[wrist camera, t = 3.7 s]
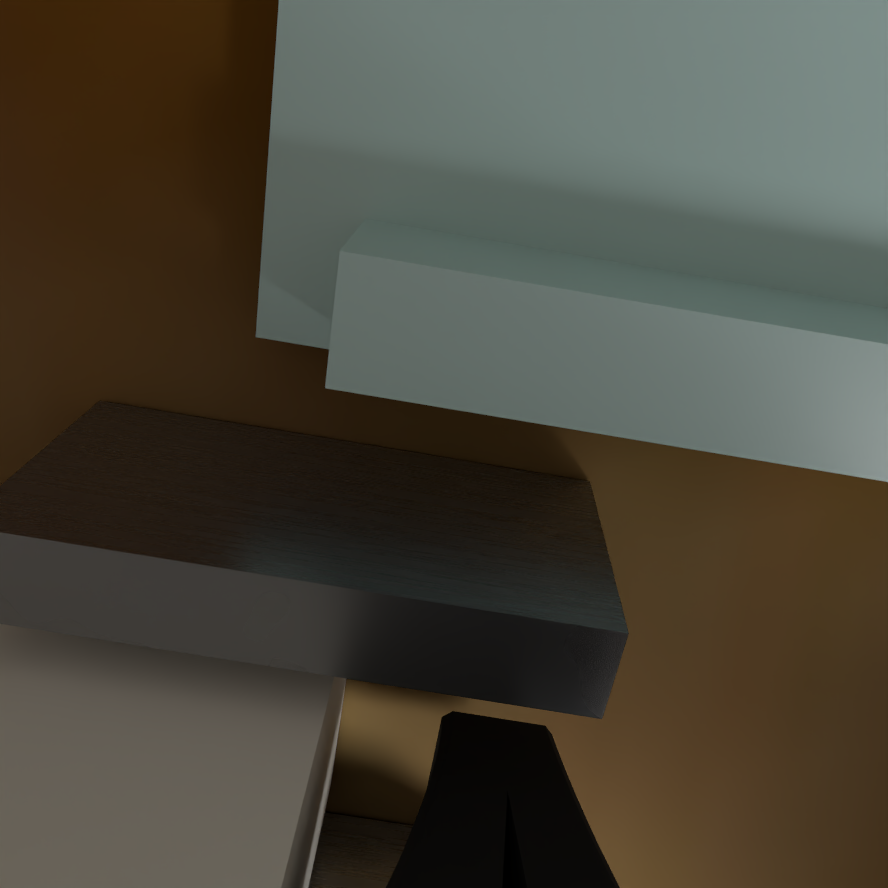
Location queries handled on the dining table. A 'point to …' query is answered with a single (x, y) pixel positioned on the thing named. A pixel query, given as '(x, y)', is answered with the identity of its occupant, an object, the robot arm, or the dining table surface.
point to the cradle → (592, 215)
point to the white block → (158, 766)
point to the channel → (316, 570)
